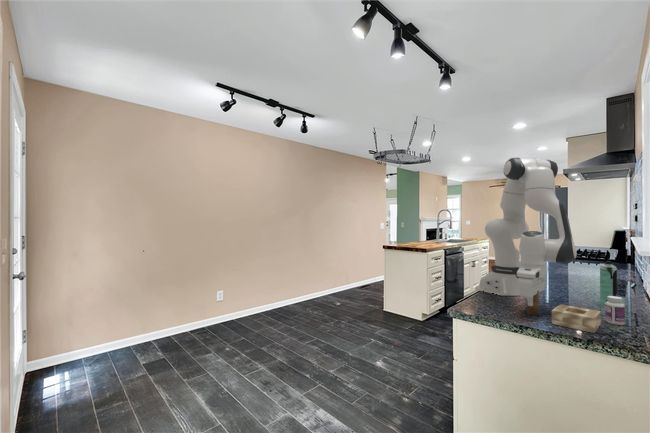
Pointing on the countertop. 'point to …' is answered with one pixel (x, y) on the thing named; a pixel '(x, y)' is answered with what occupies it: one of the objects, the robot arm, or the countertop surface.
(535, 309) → the peg
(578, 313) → the socket block
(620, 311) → the pill bottle
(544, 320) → the countertop surface
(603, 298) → the spray can
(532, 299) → the robot arm
